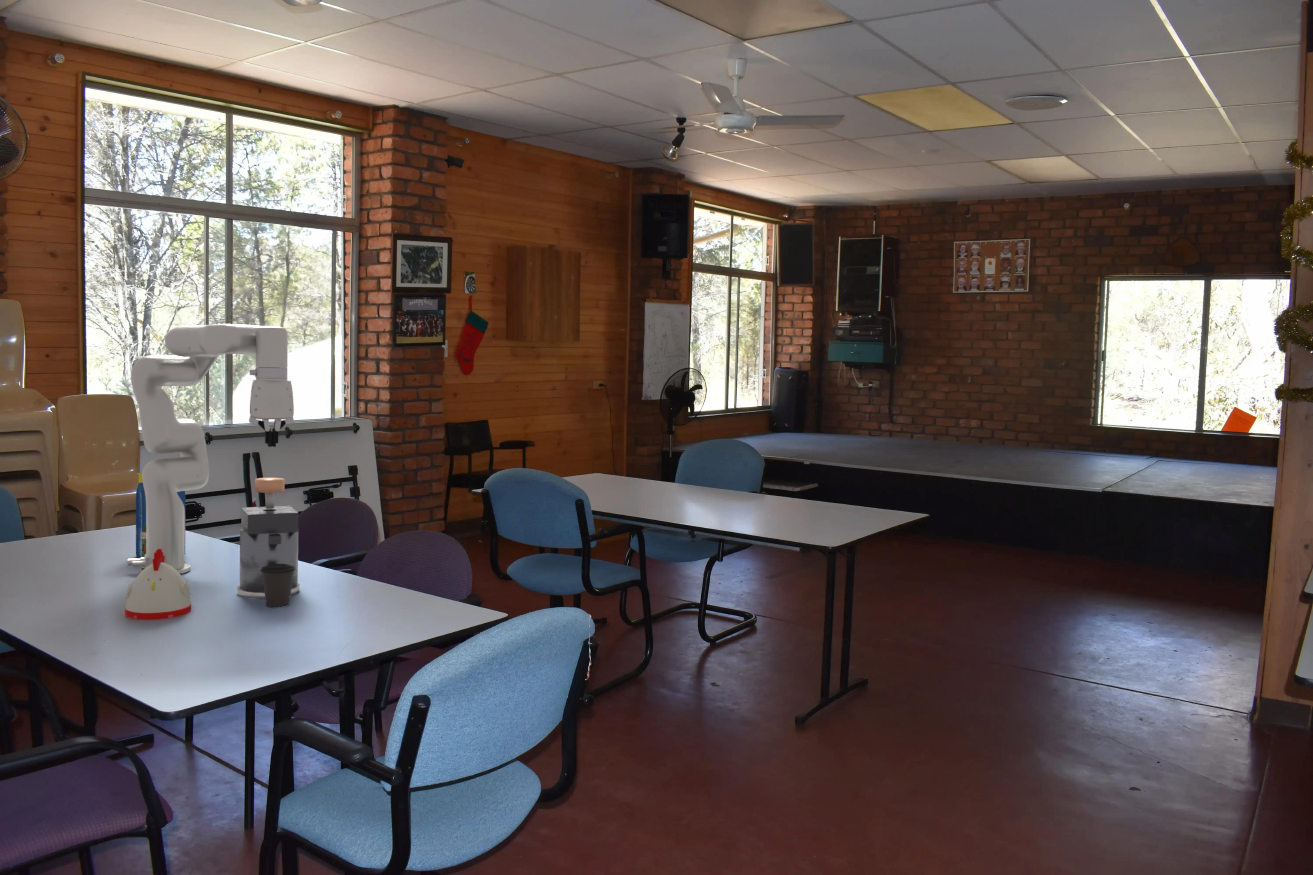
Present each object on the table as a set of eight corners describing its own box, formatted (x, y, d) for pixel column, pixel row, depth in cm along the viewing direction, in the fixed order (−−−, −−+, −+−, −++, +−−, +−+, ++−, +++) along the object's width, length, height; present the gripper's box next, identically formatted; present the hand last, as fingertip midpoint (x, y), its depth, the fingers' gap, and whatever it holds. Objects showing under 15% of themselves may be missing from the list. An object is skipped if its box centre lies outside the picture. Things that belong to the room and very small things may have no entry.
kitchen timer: (117, 620, 218) (117, 555, 217) (133, 605, 231) (133, 544, 230) (184, 619, 222) (185, 555, 220) (196, 604, 235) (196, 543, 234)
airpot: (243, 604, 236) (243, 517, 234) (233, 588, 252) (234, 506, 250) (306, 598, 244) (307, 515, 242) (294, 583, 259) (295, 504, 258)
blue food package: (135, 556, 285) (135, 472, 283) (178, 551, 293) (179, 470, 291) (141, 559, 280) (141, 474, 279) (185, 555, 289) (185, 473, 287)
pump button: (257, 510, 242) (257, 481, 242) (253, 506, 249) (253, 477, 248) (286, 509, 246) (286, 480, 245) (281, 505, 252) (282, 477, 251)
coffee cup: (282, 610, 232) (283, 569, 231) (253, 607, 234) (253, 566, 233) (301, 602, 240) (302, 562, 239) (272, 599, 242) (273, 560, 241)
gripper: (241, 374, 238) (242, 448, 239) (305, 375, 245) (304, 447, 246) (238, 373, 244) (238, 445, 245) (299, 375, 252) (299, 444, 253)
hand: (271, 446), depth 246 cm, fingers closed
